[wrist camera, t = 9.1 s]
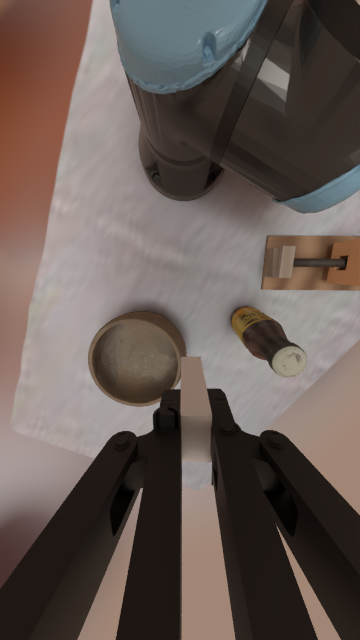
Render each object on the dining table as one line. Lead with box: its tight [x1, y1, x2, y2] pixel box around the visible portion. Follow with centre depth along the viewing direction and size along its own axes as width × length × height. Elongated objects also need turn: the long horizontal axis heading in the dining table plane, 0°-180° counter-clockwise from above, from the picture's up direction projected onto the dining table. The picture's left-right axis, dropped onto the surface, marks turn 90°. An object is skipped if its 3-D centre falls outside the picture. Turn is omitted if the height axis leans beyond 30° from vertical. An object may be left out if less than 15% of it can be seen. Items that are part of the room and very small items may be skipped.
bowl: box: [88, 312, 186, 407], centre depth 39 cm, size 17×18×10 cm
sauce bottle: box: [231, 307, 307, 377], centre depth 32 cm, size 6×6×20 cm
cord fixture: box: [261, 236, 360, 290], centre depth 34 cm, size 20×10×10 cm, turn 89°
